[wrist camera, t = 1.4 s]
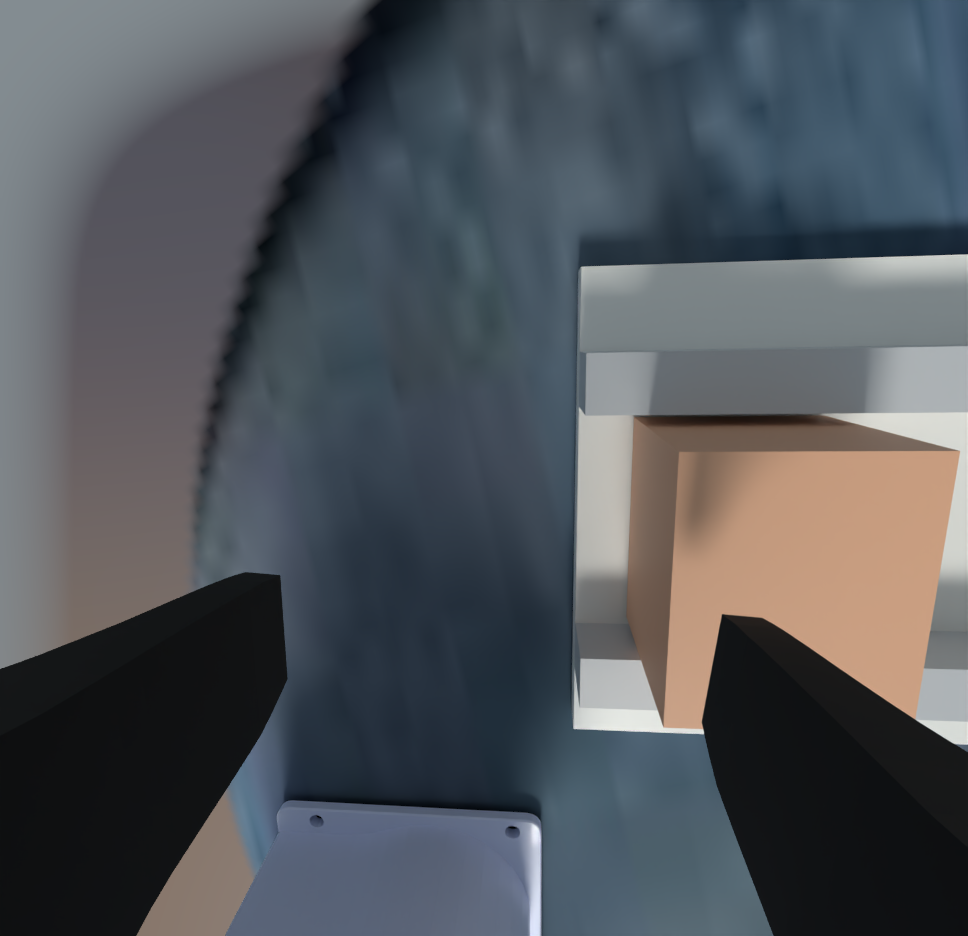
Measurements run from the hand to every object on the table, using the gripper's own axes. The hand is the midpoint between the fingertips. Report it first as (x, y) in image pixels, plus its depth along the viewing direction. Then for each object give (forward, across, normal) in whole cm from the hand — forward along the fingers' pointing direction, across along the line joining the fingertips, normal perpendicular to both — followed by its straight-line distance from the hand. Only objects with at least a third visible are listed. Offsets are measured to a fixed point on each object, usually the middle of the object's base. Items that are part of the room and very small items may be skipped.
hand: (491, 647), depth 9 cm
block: (+8, -6, 0) cm, 10 cm away
